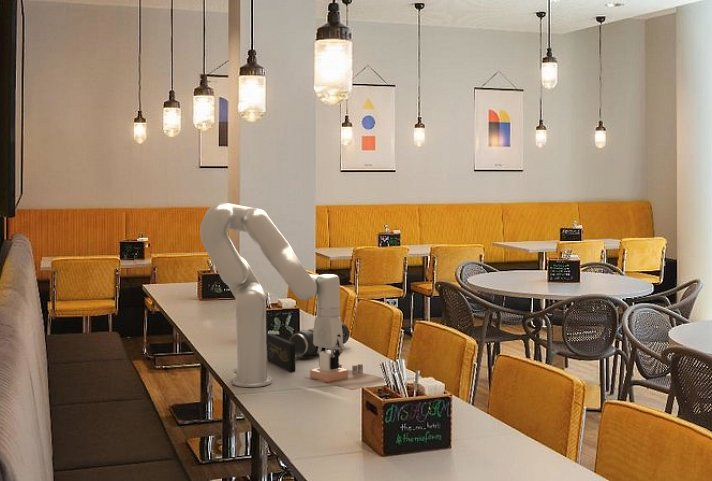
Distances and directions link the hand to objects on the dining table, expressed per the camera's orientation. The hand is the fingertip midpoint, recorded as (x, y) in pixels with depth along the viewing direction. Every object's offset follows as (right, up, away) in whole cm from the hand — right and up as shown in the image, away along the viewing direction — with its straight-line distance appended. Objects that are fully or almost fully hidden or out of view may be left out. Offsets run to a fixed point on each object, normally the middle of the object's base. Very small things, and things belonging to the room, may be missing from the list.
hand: (328, 366), depth 292 cm
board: (+6, -5, -2) cm, 8 cm away
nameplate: (-18, -3, +22) cm, 28 cm away
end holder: (0, -4, 0) cm, 4 cm away
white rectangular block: (0, -3, 0) cm, 3 cm away
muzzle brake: (-5, -1, +44) cm, 44 cm away
